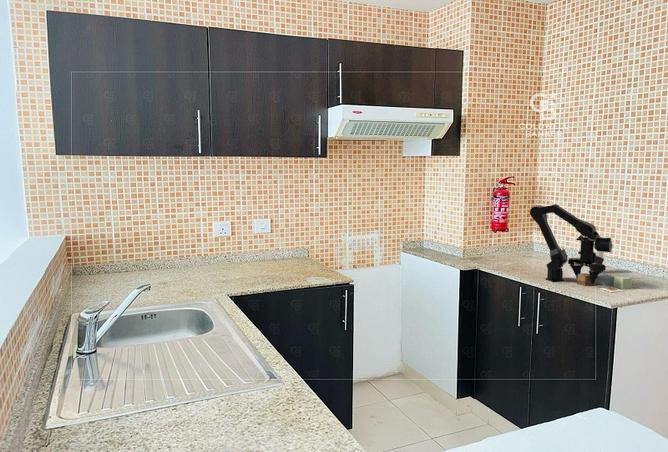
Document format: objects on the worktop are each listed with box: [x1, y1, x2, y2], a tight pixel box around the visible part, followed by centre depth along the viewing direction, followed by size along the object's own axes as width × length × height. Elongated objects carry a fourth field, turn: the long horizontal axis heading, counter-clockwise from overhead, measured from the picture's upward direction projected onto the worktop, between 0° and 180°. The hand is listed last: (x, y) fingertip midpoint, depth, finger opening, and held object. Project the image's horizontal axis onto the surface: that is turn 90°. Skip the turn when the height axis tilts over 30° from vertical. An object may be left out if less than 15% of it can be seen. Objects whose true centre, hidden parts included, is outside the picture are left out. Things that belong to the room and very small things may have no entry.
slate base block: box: [594, 273, 615, 287], centre depth 244 cm, size 7×7×4 cm
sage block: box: [613, 275, 633, 290], centre depth 235 cm, size 5×5×5 cm
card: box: [599, 286, 625, 293], centre depth 232 cm, size 7×7×1 cm
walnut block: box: [576, 272, 595, 287], centre depth 242 cm, size 5×5×5 cm
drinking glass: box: [593, 248, 605, 274], centre depth 267 cm, size 7×7×15 cm
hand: (585, 281), depth 242 cm, fingers open, 9 cm apart
